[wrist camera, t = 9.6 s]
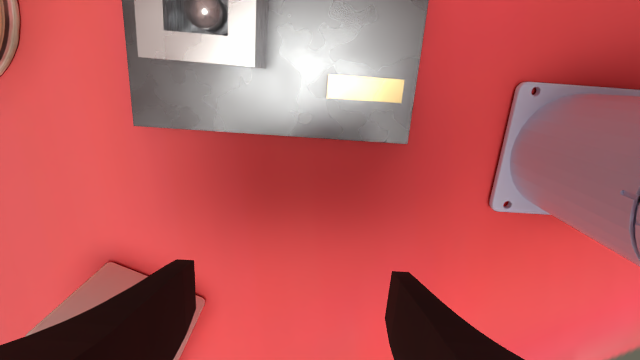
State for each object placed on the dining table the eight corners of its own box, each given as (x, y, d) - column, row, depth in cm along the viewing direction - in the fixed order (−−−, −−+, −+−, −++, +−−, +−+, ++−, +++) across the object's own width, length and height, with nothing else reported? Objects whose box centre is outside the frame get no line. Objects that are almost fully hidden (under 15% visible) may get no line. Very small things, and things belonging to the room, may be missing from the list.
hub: (269, -39, 17) (257, -68, 14) (265, 68, 19) (254, 67, 15) (165, -49, 17) (128, -81, 13) (170, 60, 18) (138, 57, 15)
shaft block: (437, -91, 17) (467, -131, 14) (403, 141, 21) (420, 154, 17) (119, -119, 17) (69, -168, 13) (140, 123, 20) (105, 133, 17)
